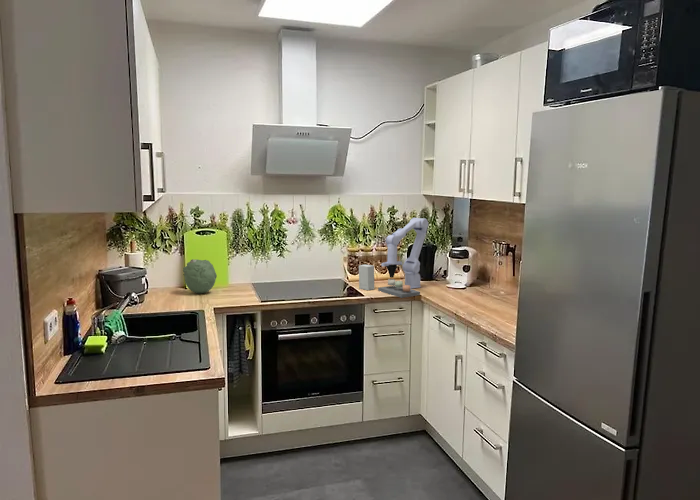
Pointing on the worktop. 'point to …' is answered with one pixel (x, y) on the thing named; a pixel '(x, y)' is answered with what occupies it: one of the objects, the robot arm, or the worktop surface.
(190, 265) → the cabbage
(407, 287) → the button terracotta
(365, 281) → the skincare box
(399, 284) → the button sage
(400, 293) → the panel
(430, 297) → the worktop surface
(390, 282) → the button cream
